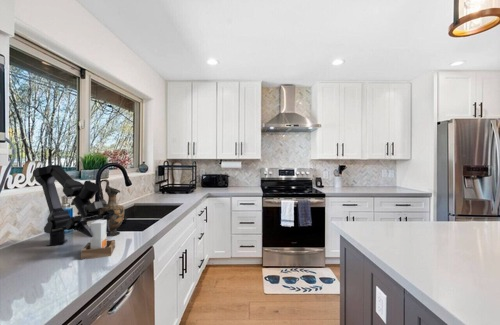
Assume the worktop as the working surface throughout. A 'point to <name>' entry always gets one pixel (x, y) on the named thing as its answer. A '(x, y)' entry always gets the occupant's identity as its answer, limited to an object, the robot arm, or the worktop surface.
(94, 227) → the skincare box
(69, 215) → the robot arm
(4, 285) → the worktop surface
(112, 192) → the vase
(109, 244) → the walnut holder
